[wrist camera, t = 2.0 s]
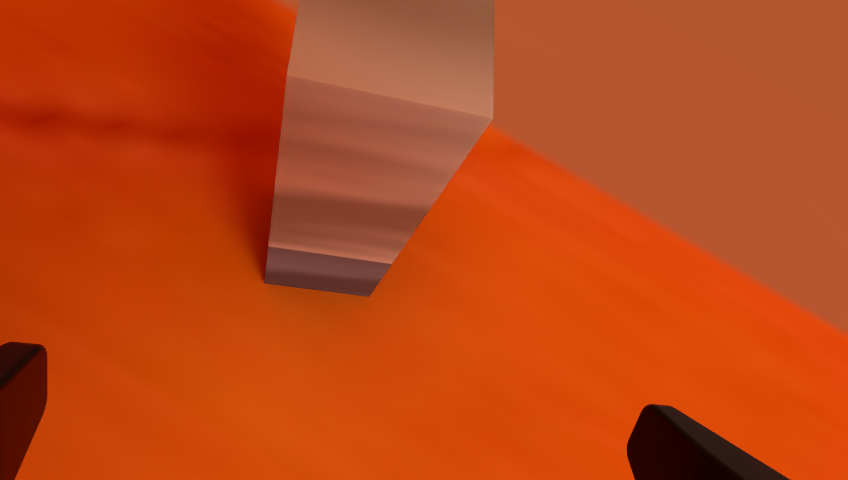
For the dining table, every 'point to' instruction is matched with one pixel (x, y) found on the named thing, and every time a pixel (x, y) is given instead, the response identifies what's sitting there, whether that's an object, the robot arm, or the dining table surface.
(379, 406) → the dining table surface
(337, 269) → the rail post
